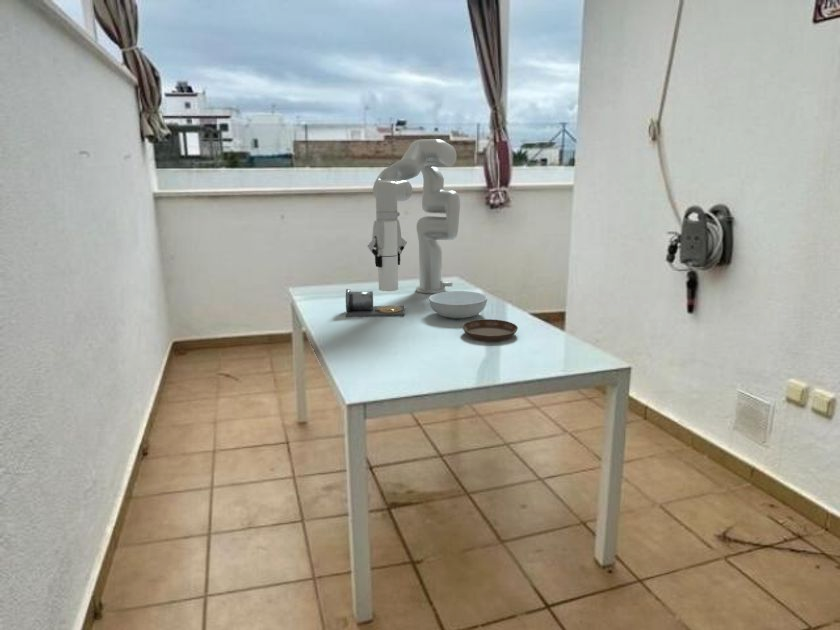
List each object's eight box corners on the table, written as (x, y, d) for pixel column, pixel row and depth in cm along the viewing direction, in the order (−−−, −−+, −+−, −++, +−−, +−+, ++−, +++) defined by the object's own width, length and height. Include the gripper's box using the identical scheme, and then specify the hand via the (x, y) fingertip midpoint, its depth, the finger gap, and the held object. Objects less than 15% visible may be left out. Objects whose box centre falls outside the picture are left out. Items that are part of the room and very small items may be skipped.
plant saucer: (516, 345, 180) (517, 335, 179) (459, 342, 183) (459, 333, 182) (518, 329, 197) (518, 320, 196) (465, 327, 200) (465, 318, 199)
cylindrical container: (391, 292, 212) (389, 221, 206) (374, 289, 216) (372, 221, 209) (402, 288, 218) (400, 220, 212) (386, 286, 222) (384, 219, 215)
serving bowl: (423, 310, 222) (423, 292, 220) (477, 307, 226) (477, 289, 224) (436, 325, 202) (436, 305, 200) (494, 321, 206) (495, 301, 204)
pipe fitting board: (404, 308, 225) (403, 285, 223) (404, 316, 213) (403, 291, 211) (348, 309, 225) (347, 285, 222) (345, 317, 213) (344, 292, 211)
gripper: (400, 214, 218) (401, 261, 223) (360, 217, 208) (362, 267, 212) (412, 215, 212) (413, 264, 217) (371, 218, 202) (373, 269, 207)
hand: (387, 265), depth 215 cm, fingers closed on cylindrical container, 7 cm apart
